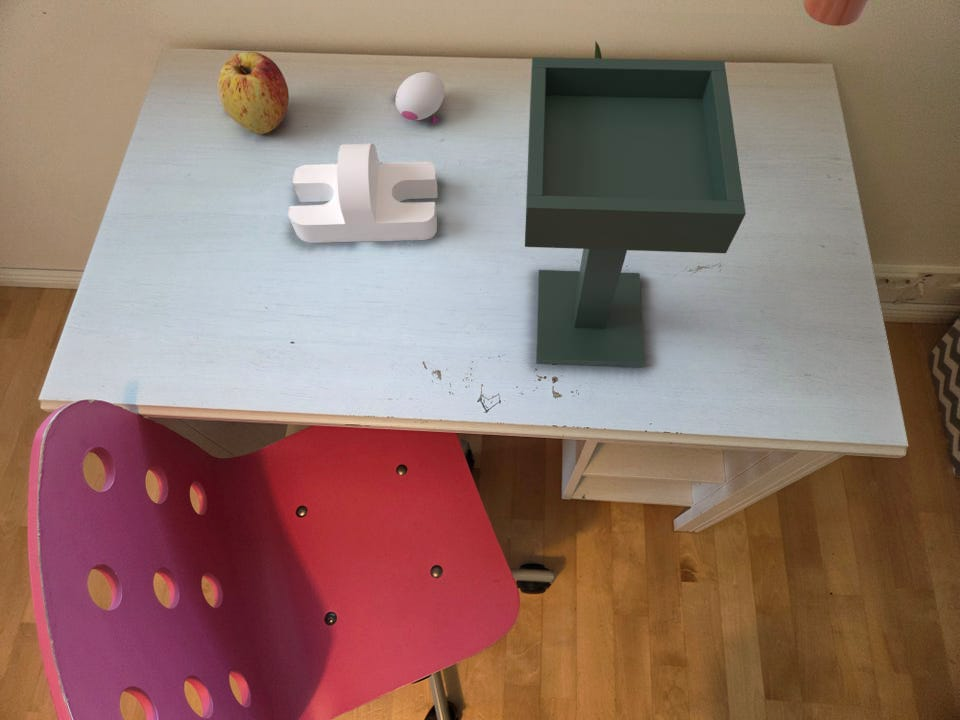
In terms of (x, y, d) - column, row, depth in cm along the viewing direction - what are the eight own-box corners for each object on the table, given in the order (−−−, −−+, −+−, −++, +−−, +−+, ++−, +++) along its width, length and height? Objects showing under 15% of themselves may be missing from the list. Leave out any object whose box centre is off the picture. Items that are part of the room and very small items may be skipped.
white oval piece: (431, 109, 101) (409, 66, 98) (464, 105, 95) (442, 59, 92) (395, 138, 99) (371, 95, 95) (427, 135, 93) (403, 89, 89)
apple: (307, 131, 96) (287, 72, 87) (246, 155, 94) (219, 98, 85) (283, 90, 100) (262, 29, 91) (224, 113, 98) (196, 53, 89)
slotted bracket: (294, 243, 87) (271, 191, 79) (302, 184, 92) (281, 128, 83) (436, 239, 87) (429, 187, 78) (437, 180, 91) (431, 124, 82)
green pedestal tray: (653, 265, 84) (724, 60, 57) (661, 384, 77) (746, 213, 50) (522, 260, 85) (532, 56, 58) (517, 378, 78) (526, 207, 51)
